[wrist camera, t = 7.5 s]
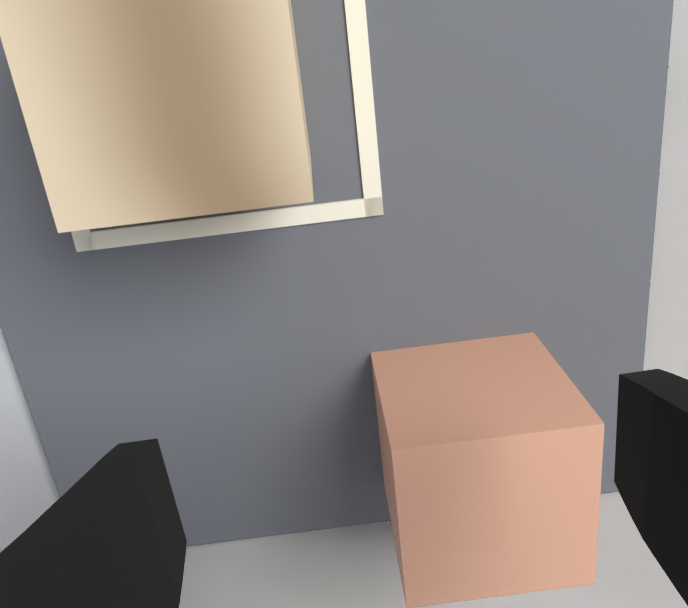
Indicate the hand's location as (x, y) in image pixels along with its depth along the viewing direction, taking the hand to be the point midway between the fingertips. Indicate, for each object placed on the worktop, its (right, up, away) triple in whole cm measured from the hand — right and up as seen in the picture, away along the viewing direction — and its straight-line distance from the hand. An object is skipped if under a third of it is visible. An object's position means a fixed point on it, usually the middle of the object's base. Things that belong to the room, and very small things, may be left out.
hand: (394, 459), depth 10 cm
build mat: (-1, +4, +9) cm, 10 cm away
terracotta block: (+3, -1, +10) cm, 11 cm away
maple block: (-4, +8, +6) cm, 11 cm away
